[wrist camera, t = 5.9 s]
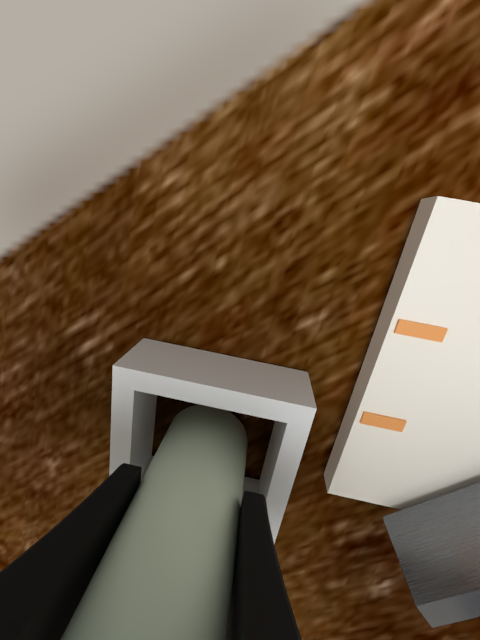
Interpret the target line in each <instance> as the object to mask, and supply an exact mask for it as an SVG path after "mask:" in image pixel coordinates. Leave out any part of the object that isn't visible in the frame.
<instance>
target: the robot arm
mask: <svg viewBox="0 0 480 640" xmlns="http://www.w3.org/2000/svg"><path fill="white" fill-rule="evenodd" d="M141 470H142V467H140V466H136V465H131V464H127V463H123V464H121V465H120V466H119V467H118V468H117V469H116V470H115V471H114V472H113V473H112V474H111V475H110V476H109V477H108V478H107V479H106V480H105V481H104V482H103V483H102V484H101V485H100V486H99V487H98V488H97V489H96V490H95V491H94V492H92V493H91V494H90V495H89V496H88V497H87V498H86V499H85V500H84V501H83V502H82V503H81V504H80V505H79V506H77V507H76V508H75V509H74V510H73V511H72V512H71V513H70V514H69V515H67V516H66V517H65V518H64V519H63V520H62V521H61V522H60V523H59V524H57V525H56V526H55V527H54V528H53V529H52V530H51V531H49V532H48V533H47V534H46V535H45V536H43V537H42V538H41V539H40V540H39V541H37V542H36V543H35V544H34V545H33V546H31V547H30V548H29V549H28V550H27V551H26V552H24V553H23V554H22V555H21V556H19V557H18V558H17V559H16V560H14V561H13V562H12V563H11V564H9V565H8V566H7V567H6V568H4V569H3V570H2V571H1V572H0V640H61V638H62V636H63V634H64V632H65V630H66V628H67V626H68V624H69V622H70V620H71V618H72V616H73V614H74V612H75V610H76V608H77V606H78V605H79V603H80V601H81V599H82V597H83V595H84V593H85V591H86V589H87V587H88V585H89V583H90V581H91V579H92V577H93V575H94V573H95V571H96V569H97V567H98V565H99V563H100V561H101V559H102V557H103V556H104V554H105V552H106V550H107V548H108V546H109V544H110V542H111V540H112V538H113V536H114V534H115V532H116V530H117V528H118V526H119V524H120V522H121V520H122V518H123V516H124V514H125V512H126V510H127V509H128V507H129V505H130V503H131V501H132V499H133V497H134V495H135V493H136V491H137V489H138V487H139V485H140V483H141ZM226 640H302V639H301V636H300V633H299V630H298V627H297V624H296V621H295V618H294V615H293V611H292V608H291V605H290V602H289V598H288V595H287V591H286V588H285V585H284V581H283V577H282V573H281V570H280V566H279V562H278V558H277V554H276V550H275V546H274V541H273V537H272V532H271V527H270V522H269V517H268V511H267V504H266V498H265V496H264V495H263V494H259V493H254V492H250V491H244V495H243V499H242V503H241V508H240V517H239V526H238V535H237V546H236V555H235V564H234V573H233V582H232V591H231V600H230V609H229V618H228V627H227V636H226Z"/></svg>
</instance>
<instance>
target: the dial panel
mask: <svg viewBox="0 0 480 640" xmlns="http://www.w3.org/2000/svg"><path fill="white" fill-rule="evenodd" d="M324 479H325V484H326V488H327V493H330V494H334V495H338V496H343V497H347V498H352V499H356V500H361V501H365V502H370V503H374V504H378V505H383V506H387V507H392V508H396V509H401V510H403V509H406V508H409V507H411V506H414V505H417V504H420V503H423V502H425V501H428V500H431V499H434V498H437V497H439V496H442V495H445V494H448V493H451V492H453V491H456V490H459V489H462V488H465V487H467V486H470V485H473V484H476V483H479V482H480V203H475V202H469V201H464V200H458V199H452V198H447V197H441V196H435V197H429V198H424V199H421V201H420V204H419V207H418V209H417V212H416V215H415V218H414V221H413V223H412V226H411V229H410V232H409V235H408V238H407V240H406V243H405V246H404V249H403V252H402V254H401V257H400V260H399V263H398V266H397V268H396V271H395V274H394V277H393V280H392V283H391V285H390V288H389V291H388V294H387V297H386V299H385V302H384V305H383V308H382V311H381V314H380V316H379V319H378V322H377V325H376V328H375V330H374V333H373V336H372V339H371V342H370V345H369V347H368V350H367V353H366V356H365V359H364V361H363V364H362V367H361V370H360V373H359V376H358V378H357V381H356V384H355V387H354V390H353V392H352V395H351V398H350V401H349V404H348V407H347V409H346V412H345V415H344V418H343V421H342V423H341V426H340V429H339V432H338V435H337V437H336V440H335V443H334V446H333V449H332V452H331V454H330V457H329V460H328V463H327V466H326V468H325V471H324Z"/></svg>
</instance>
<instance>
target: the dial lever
mask: <svg viewBox="0 0 480 640" xmlns="http://www.w3.org/2000/svg"><path fill="white" fill-rule="evenodd" d="M383 520H384V523H385V525H386V528H387V531H388V533H389V536H390V538H391V541H392V544H393V546H394V549H395V552H396V554H397V557H398V560H399V562H400V565H401V568H402V570H403V573H404V575H405V578H406V581H407V583H408V586H409V589H410V591H411V594H412V597H413V599H414V602H415V604H416V607H417V608H418V609H419V611H420V612H421V613H422V615H423V616H424V617H425V619H426V620H427V621H428V623H429V624H430V625H431V627H432V628H434V627H438V626H442V625H446V624H451V623H455V622H459V621H463V620H468V619H472V618H476V617H480V482H479V483H476V484H473V485H470V486H467V487H465V488H462V489H459V490H456V491H453V492H451V493H448V494H445V495H442V496H439V497H437V498H434V499H431V500H428V501H425V502H423V503H420V504H417V505H414V506H411V507H409V508H406V509H403V510H400V511H397V512H395V513H392V514H389V515H386V516H383Z"/></svg>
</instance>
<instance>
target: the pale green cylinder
mask: <svg viewBox="0 0 480 640" xmlns="http://www.w3.org/2000/svg"><path fill="white" fill-rule="evenodd" d="M247 446H248V437H247V433H246V430H245V428H244V426H243V424H242V423H241V422H240V420H239V419H238V418H237V417H236V416H234V415H233V414H232V413H230V412H229V411H227V410H223V409H219V408H214V407H210V406H205V405H194V406H190V407H188V408H185V409H184V410H182V411H181V412H179V413H178V414H177V415H176V416H175V417H174V419H173V421H172V422H171V424H170V426H169V428H168V430H167V432H166V434H165V436H164V438H163V440H162V442H161V444H160V446H159V448H158V450H157V452H156V454H155V456H154V458H153V460H152V462H151V463H150V465H149V467H148V469H147V471H146V473H145V475H144V477H143V479H142V481H141V483H140V485H139V487H138V489H137V491H136V493H135V495H134V497H133V499H132V501H131V503H130V505H129V507H128V509H127V510H126V512H125V514H124V516H123V518H122V520H121V522H120V524H119V526H118V528H117V530H116V532H115V534H114V536H113V538H112V540H111V542H110V544H109V546H108V548H107V550H106V552H105V554H104V556H103V557H102V559H101V561H100V563H99V565H98V567H97V569H96V571H95V573H94V575H93V577H92V579H91V581H90V583H89V585H88V587H87V589H86V591H85V593H84V595H83V597H82V599H81V601H80V603H79V605H78V606H77V608H76V610H75V612H74V614H73V616H72V618H71V620H70V622H69V624H68V626H67V628H66V630H65V632H64V634H63V636H62V638H61V640H226V636H227V627H228V618H229V609H230V600H231V591H232V582H233V573H234V564H235V555H236V546H237V535H238V526H239V517H240V508H241V501H242V492H243V483H244V474H245V465H246V456H247Z"/></svg>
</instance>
